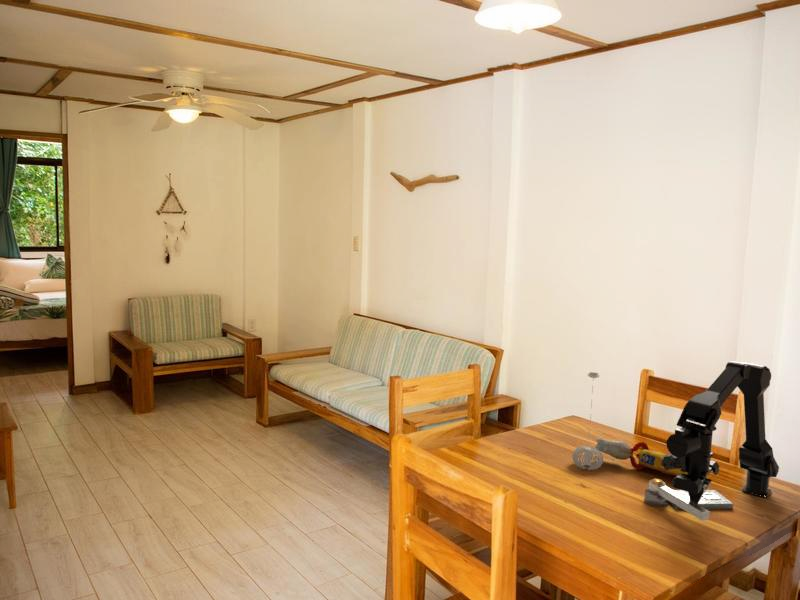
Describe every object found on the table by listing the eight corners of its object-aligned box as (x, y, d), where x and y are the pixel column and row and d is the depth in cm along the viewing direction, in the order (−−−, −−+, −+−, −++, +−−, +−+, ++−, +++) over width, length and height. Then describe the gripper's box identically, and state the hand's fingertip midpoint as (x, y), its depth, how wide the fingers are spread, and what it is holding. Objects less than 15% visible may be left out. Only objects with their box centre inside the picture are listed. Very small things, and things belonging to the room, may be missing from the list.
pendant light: (599, 462, 209) (605, 370, 205) (605, 473, 200) (612, 377, 196) (569, 460, 210) (575, 369, 206) (574, 471, 200) (580, 376, 197)
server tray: (676, 509, 176) (676, 502, 176) (660, 495, 185) (660, 488, 185) (732, 508, 177) (733, 502, 177) (714, 494, 186) (714, 488, 186)
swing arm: (644, 489, 181) (645, 478, 181) (657, 487, 183) (658, 477, 182) (698, 521, 162) (699, 510, 162) (712, 519, 164) (713, 508, 163)
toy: (702, 451, 201) (604, 423, 216) (696, 464, 190) (594, 434, 206) (697, 478, 203) (600, 448, 218) (690, 492, 192) (589, 460, 207)
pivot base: (648, 495, 184) (649, 486, 184) (670, 501, 181) (671, 492, 180) (640, 502, 180) (641, 493, 180) (663, 508, 176) (663, 499, 176)
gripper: (678, 431, 180) (674, 485, 182) (653, 450, 166) (649, 508, 168) (722, 442, 173) (716, 497, 175) (699, 462, 159) (694, 522, 161)
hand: (693, 505), depth 170 cm, fingers closed
